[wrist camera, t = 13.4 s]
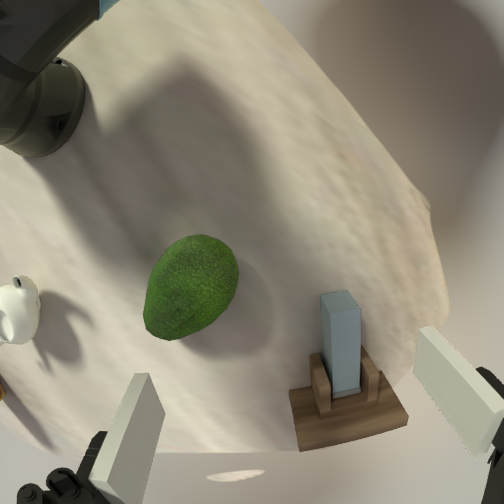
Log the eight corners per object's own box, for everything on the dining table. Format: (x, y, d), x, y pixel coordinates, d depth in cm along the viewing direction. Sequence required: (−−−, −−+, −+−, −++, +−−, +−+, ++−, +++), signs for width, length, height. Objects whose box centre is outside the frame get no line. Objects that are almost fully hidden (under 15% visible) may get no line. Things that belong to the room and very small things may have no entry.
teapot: (-1, 317, 44) (-30, 339, 35) (33, 237, 41) (-4, 254, 32) (33, 352, 46) (8, 379, 37) (74, 278, 42) (42, 303, 34)
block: (319, 295, 44) (330, 315, 38) (347, 290, 44) (362, 309, 38) (324, 373, 48) (332, 398, 41) (348, 368, 48) (360, 392, 41)
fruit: (186, 335, 45) (174, 376, 36) (133, 293, 43) (107, 326, 34) (255, 261, 42) (259, 290, 33) (197, 212, 40) (183, 227, 31)
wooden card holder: (284, 359, 47) (295, 412, 35) (383, 339, 46) (415, 383, 35) (289, 398, 49) (299, 451, 37) (380, 379, 49) (406, 425, 37)
